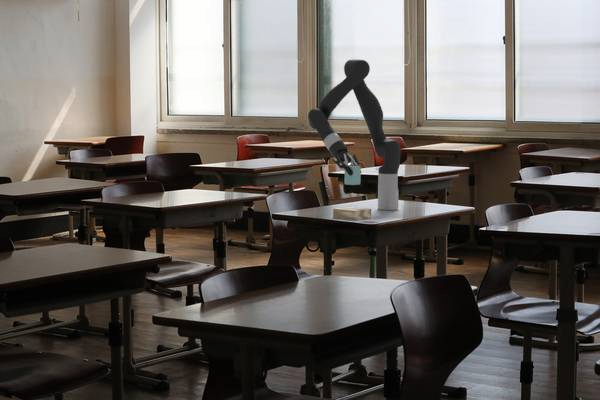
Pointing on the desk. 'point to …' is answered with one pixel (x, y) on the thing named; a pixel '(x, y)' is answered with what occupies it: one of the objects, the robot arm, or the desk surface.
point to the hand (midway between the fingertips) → (355, 173)
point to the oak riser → (352, 213)
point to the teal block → (353, 176)
